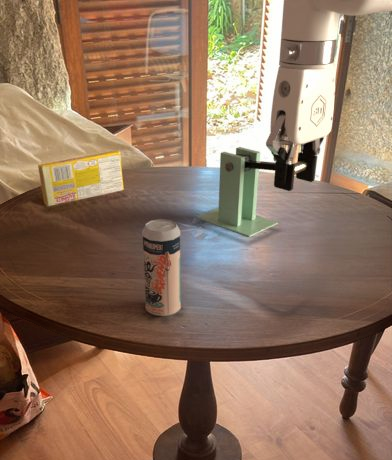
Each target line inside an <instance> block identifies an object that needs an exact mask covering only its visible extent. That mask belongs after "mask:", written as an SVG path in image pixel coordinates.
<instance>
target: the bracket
mask: <svg viewBox="0 0 392 460" xmlns="http://www.w3.org/2000/svg"><path fill="white" fill-rule="evenodd" d="M236 154H242V155H250V160H251V161H261V152H260V151H258V150H254V149H250V148H246V147H242V146H238V147H236V148H235V154H234V153H230V152H228V151H222V152H220V155H219V156H220V161H219V164H220V165H219V186H218V187H219V189H218V207H217V208H215V209H213V210H210V211H207V212H204V213H202V214H199V215H197V216H196V219H199V220H201V221H204V222H207V223H210V224H212V225H215V226H218V227H220V228H223V229H226V230H229V231H231V232H234V233H237V234H240V235H243V236H245V237H248V238H250V237H253V236H255V235H257V234H259V233H261V232H263V231H265V230H267V229H268V230H269V229H270V228H272V227H274V226H276V225H278V223H279V222H277V221H274V220H272V219H268V218H265V217H262V216H259V215H257V214H256V213H257V204H258V203H257V201H258V191H259V190H258V187H259V174H260V169H253V168H251V170H249V171H246V172H244V164H245V157H243V156H239V155H236Z"/></svg>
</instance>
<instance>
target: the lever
mask: <svg viewBox="0 0 392 460" xmlns="http://www.w3.org/2000/svg"><path fill="white" fill-rule="evenodd" d="M235 155H239V156H243V157H245V164H244V172H246V171H249V170H251V168H253V169H259V170H263V171H273V172H275V164H276V162H275V161H273V162H272V161H264V160H263V161H262V160H260V161H251V160H250V155H242V154H236V153H235ZM293 164H295V173H294V175H296V173H299V172H302V171H304V170H306V169H307V168H308V162H307V161H306V160H302V161H299V162H294V163H293Z"/></svg>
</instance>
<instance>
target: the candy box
mask: <svg viewBox="0 0 392 460" xmlns="http://www.w3.org/2000/svg"><path fill="white" fill-rule="evenodd" d="M37 167H38V174H39V182H40V186H41V191H42V192H41V193H42V199H43V204H44V205H45V206H47V207H51V206H56V205H61V204H65V203H70V202H74V201H79V200H83V199H88V198H92V197H97V196H103V195H106V194H111V193H117V192H121V191H125V190H124V189H125V188H124V179H123V178H124V177H123V170H122V169H123V168H122V156H121V151H119V150H111V151H106V152H100V153H95V154H90V155H85V156H79V157H74V158H68V159H63V160H58V161H53V162H47V163H41V164H37ZM47 207H44V209H45V210H47V211H48V212H50V211H52V210H51V209H49V208H47Z"/></svg>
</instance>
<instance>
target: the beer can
mask: <svg viewBox="0 0 392 460" xmlns="http://www.w3.org/2000/svg"><path fill="white" fill-rule="evenodd" d="M181 234H182V233H181V230H180V228H179V226H178V225H177V222H176V221H175V222H174V221H173V220H171V219H162V218H161V219H160V218H159V219H152V220H150V221H148V222H146V223H145V225H144V227H143V229H142V231H141V236H142V249H143V251H142V252H143V271H144V273H143V274H144V292H145V307H144V308H145V310H146V311H147V312H148V313H150V314H151V315H154V316H157V317H170V316H172V315H174V314H177V313H179V311H180V310H181V308H182V304H181Z"/></svg>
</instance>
